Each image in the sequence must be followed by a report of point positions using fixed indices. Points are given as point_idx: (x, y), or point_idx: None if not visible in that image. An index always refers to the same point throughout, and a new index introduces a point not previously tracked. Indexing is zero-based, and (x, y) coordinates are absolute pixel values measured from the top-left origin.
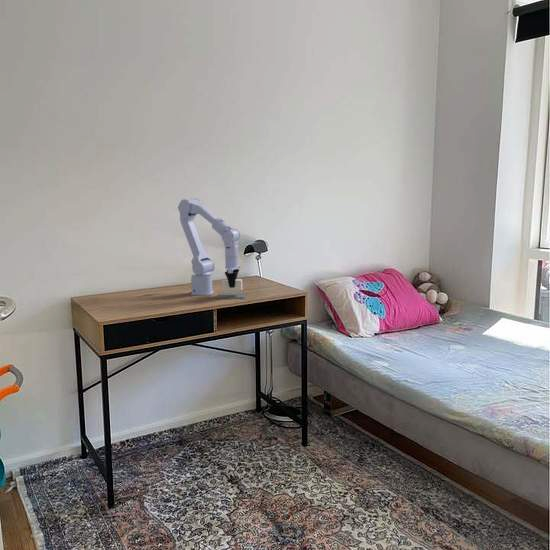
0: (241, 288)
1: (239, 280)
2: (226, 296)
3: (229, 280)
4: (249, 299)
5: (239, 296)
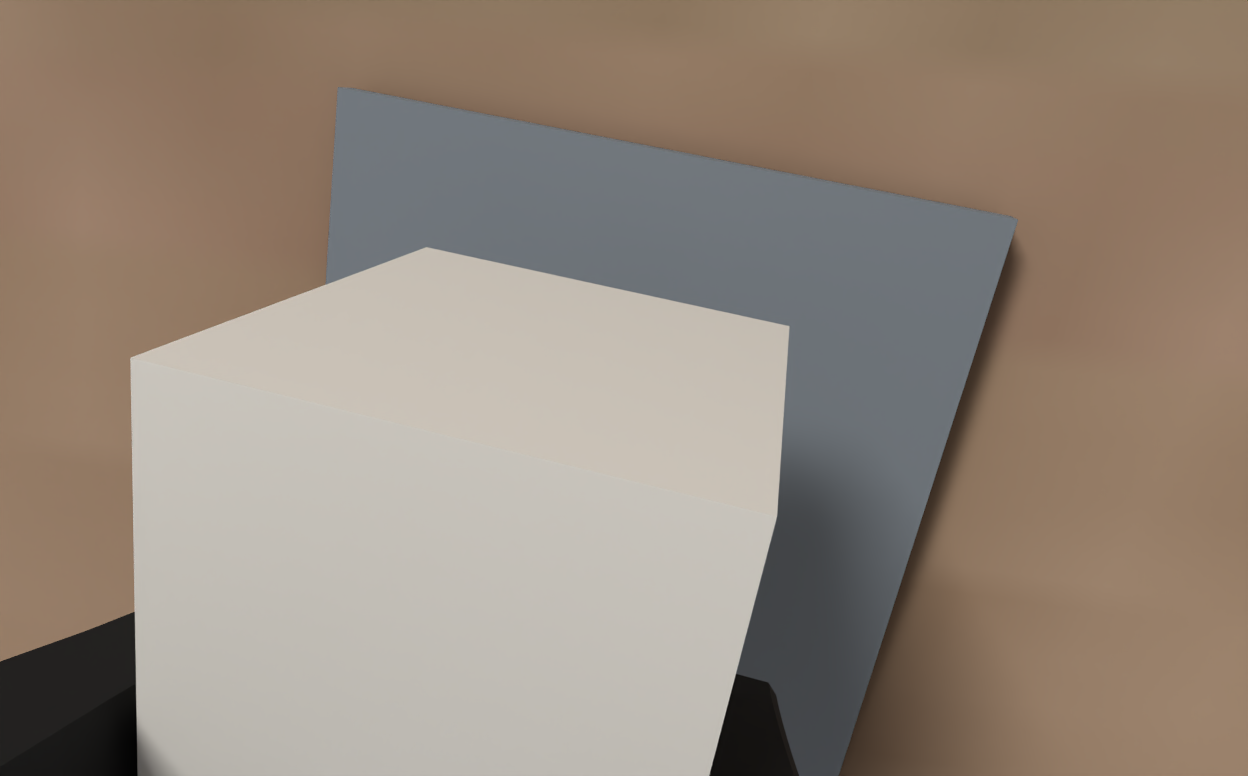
0: (785, 349)
1: (656, 617)
2: None
3: None
4: (1180, 26)
5: (809, 355)
